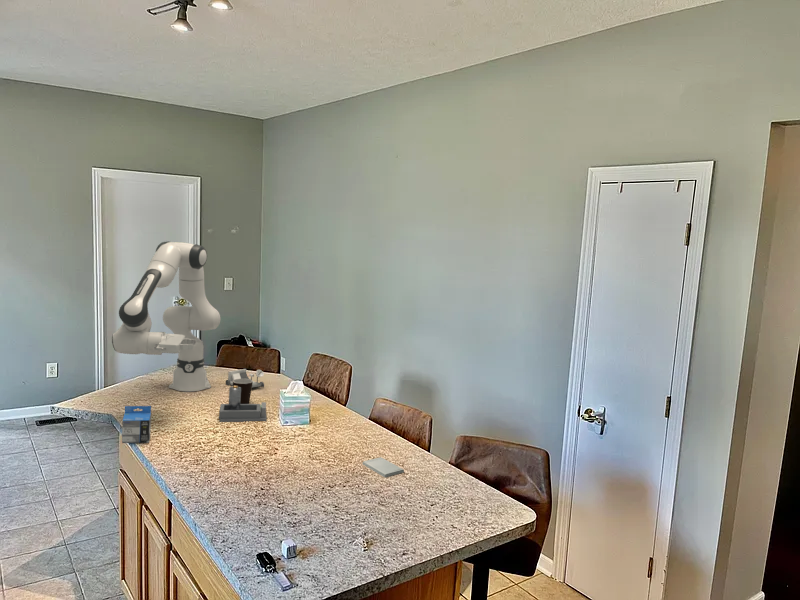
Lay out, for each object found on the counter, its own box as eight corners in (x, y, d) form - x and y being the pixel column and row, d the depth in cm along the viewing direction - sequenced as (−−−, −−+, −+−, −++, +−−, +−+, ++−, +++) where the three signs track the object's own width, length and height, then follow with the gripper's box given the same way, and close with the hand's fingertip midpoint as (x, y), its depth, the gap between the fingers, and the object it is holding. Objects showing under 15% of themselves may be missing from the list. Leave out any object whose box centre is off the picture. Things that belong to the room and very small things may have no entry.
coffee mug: (248, 406, 250) (249, 384, 249) (229, 405, 250) (229, 382, 249) (255, 399, 262) (256, 377, 261) (237, 397, 262) (238, 376, 261)
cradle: (220, 412, 240) (221, 400, 239) (266, 412, 244) (266, 400, 244) (218, 421, 228) (219, 409, 227) (266, 421, 232) (266, 409, 232)
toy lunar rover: (268, 369, 280) (249, 373, 271) (267, 389, 281) (248, 393, 272) (245, 362, 291) (226, 365, 281) (244, 381, 292) (225, 385, 282)
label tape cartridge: (121, 443, 199) (121, 409, 198) (123, 439, 203) (124, 405, 202) (148, 443, 202) (149, 408, 200) (150, 439, 205) (151, 405, 204)
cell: (228, 412, 237) (229, 384, 235) (239, 412, 238) (241, 384, 237) (227, 416, 232) (229, 387, 231) (239, 416, 233) (241, 387, 232)
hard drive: (404, 469, 192) (381, 456, 201) (385, 474, 187) (362, 461, 196) (403, 474, 192) (381, 461, 201) (384, 479, 187) (362, 465, 196)
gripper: (152, 340, 214) (191, 341, 218) (161, 331, 234) (197, 332, 237) (152, 357, 215) (191, 357, 218) (161, 346, 235) (197, 347, 238)
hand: (194, 344), depth 228 cm, fingers open, 8 cm apart
